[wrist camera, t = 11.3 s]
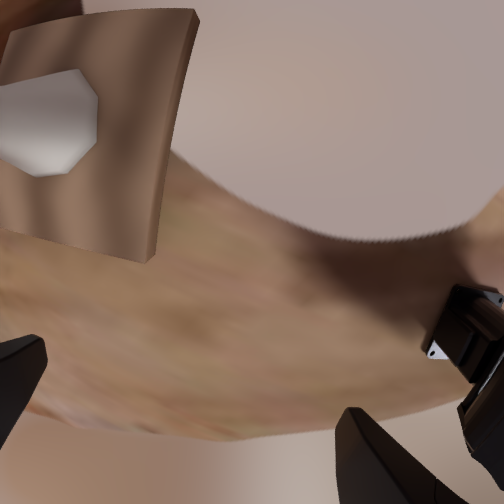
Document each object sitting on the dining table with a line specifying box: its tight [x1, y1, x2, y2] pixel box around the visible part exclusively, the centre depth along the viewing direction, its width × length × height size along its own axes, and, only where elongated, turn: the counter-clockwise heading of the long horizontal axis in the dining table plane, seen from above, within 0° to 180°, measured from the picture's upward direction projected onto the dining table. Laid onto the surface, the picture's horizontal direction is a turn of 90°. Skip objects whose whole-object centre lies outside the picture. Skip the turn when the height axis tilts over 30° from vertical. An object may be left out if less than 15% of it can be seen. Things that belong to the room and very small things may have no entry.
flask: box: [0, 69, 98, 178], centre depth 11 cm, size 7×7×10 cm
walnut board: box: [0, 8, 200, 264], centre depth 17 cm, size 16×16×2 cm
